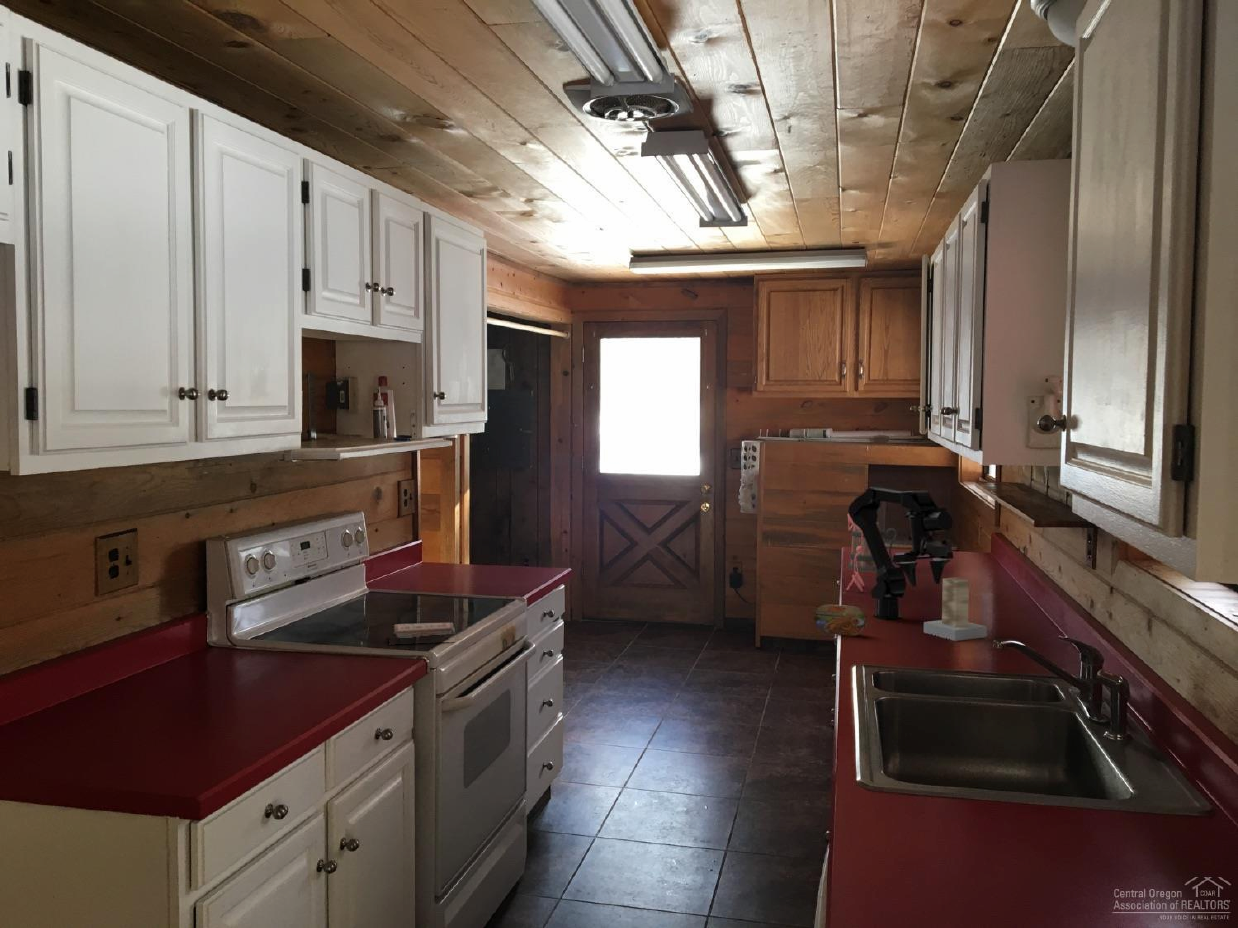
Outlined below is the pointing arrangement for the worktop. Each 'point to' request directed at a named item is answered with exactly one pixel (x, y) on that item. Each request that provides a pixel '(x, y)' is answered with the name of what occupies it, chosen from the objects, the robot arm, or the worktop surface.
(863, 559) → the tankard
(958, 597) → the birch block
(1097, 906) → the worktop surface
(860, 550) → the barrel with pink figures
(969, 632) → the plinth
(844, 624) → the tin
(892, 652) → the worktop surface
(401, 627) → the packaged product
